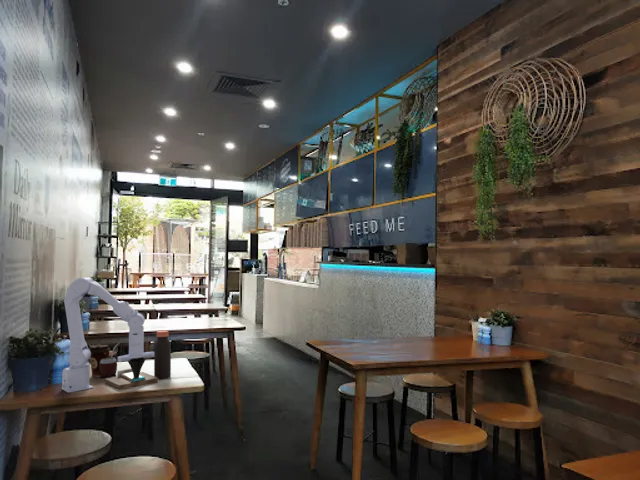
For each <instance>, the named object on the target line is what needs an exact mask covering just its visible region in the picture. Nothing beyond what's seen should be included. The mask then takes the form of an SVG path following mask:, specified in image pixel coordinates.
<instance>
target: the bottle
mask: <svg viewBox="0 0 640 480" xmlns="http://www.w3.org/2000/svg"><path fill="white" fill-rule="evenodd" d="M169 336H170V335H169V330H164V329H163V330H157V331H156V339H157V340H156V341H154V344H153V345H154V346H153V348H154V349H153V352H154V357H153V358H154V359H153V360H154V363H153V366H154V367H153V368H154V369H153V371H154V372H153V374H154V375H153V376H155V377H157V378H158V380H166V379H170V378H171V375H172V373H171V372H172V368H171V367H172V366H171V365H172V362H171V361H172V360H171V359H172V358H171V357H172V355H171V353H172V351H171V350H172V346H171V345H172V342H171V340H170V339H168V338H169Z"/></svg>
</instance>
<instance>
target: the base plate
mask: <svg viewBox="0 0 640 480" xmlns="http://www.w3.org/2000/svg"><path fill="white" fill-rule="evenodd" d="M128 372H132V369H131V367H130V368H125V369H124V368H123V369H119V370H118V369H117V376H113V377H111V378H108V377H107V378H105V379H104V381H105V382H104V383H105V385H106V386H107V385H108V386H109V387H111V388H113V389H115V390H118V391H123V390H129V389H134V388H140V387H142V386H143V387H144V386H147V385H153V384H157V383H159V379H158V378H157V377H155V376H154V375H151V374H149V373H147V372H143V371H140V374H139V375H140V376H144V377H145V380H140V381H135V382H133V381H132V380H130V379H128V378H125V377H123V376H121V374H122V373H128Z"/></svg>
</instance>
